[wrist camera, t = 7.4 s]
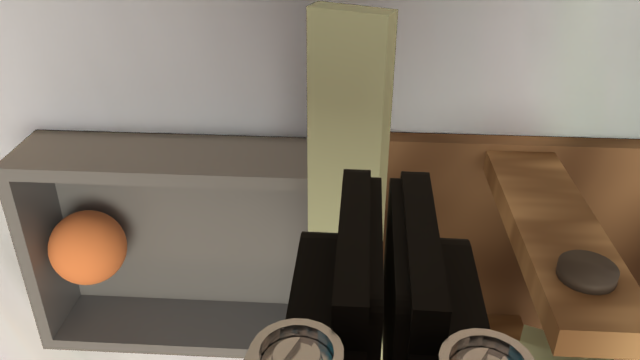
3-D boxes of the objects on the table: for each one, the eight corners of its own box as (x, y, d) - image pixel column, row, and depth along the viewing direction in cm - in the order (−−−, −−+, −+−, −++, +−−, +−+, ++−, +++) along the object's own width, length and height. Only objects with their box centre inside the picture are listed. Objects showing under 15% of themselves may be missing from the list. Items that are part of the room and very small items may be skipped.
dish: (35, 129, 29) (-9, 168, 26) (332, 138, 28) (328, 179, 25) (76, 297, 34) (43, 348, 30) (329, 308, 33) (326, 362, 30)
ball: (22, 226, 28) (82, 245, 26) (79, 190, 31) (137, 206, 29) (39, 288, 29) (97, 309, 28) (92, 249, 32) (147, 266, 31)
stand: (778, 141, 27) (1060, 340, 16) (701, 331, 33) (874, 577, 22) (341, 128, 28) (328, 308, 17) (337, 315, 34) (325, 542, 23)
